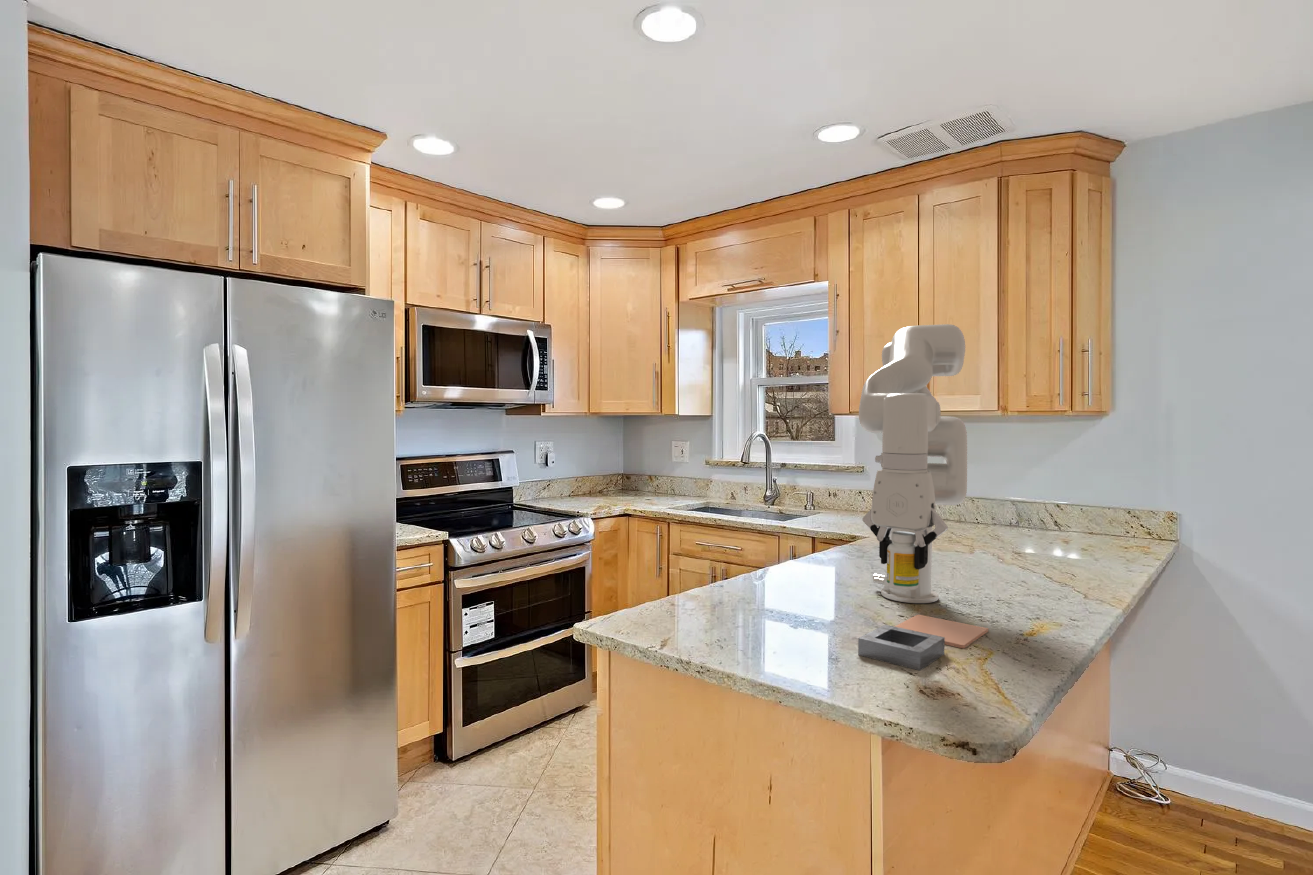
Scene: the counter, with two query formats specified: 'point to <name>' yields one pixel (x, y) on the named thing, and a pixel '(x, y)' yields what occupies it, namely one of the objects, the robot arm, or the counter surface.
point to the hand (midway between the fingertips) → (902, 564)
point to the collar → (901, 646)
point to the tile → (945, 629)
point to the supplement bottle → (902, 562)
